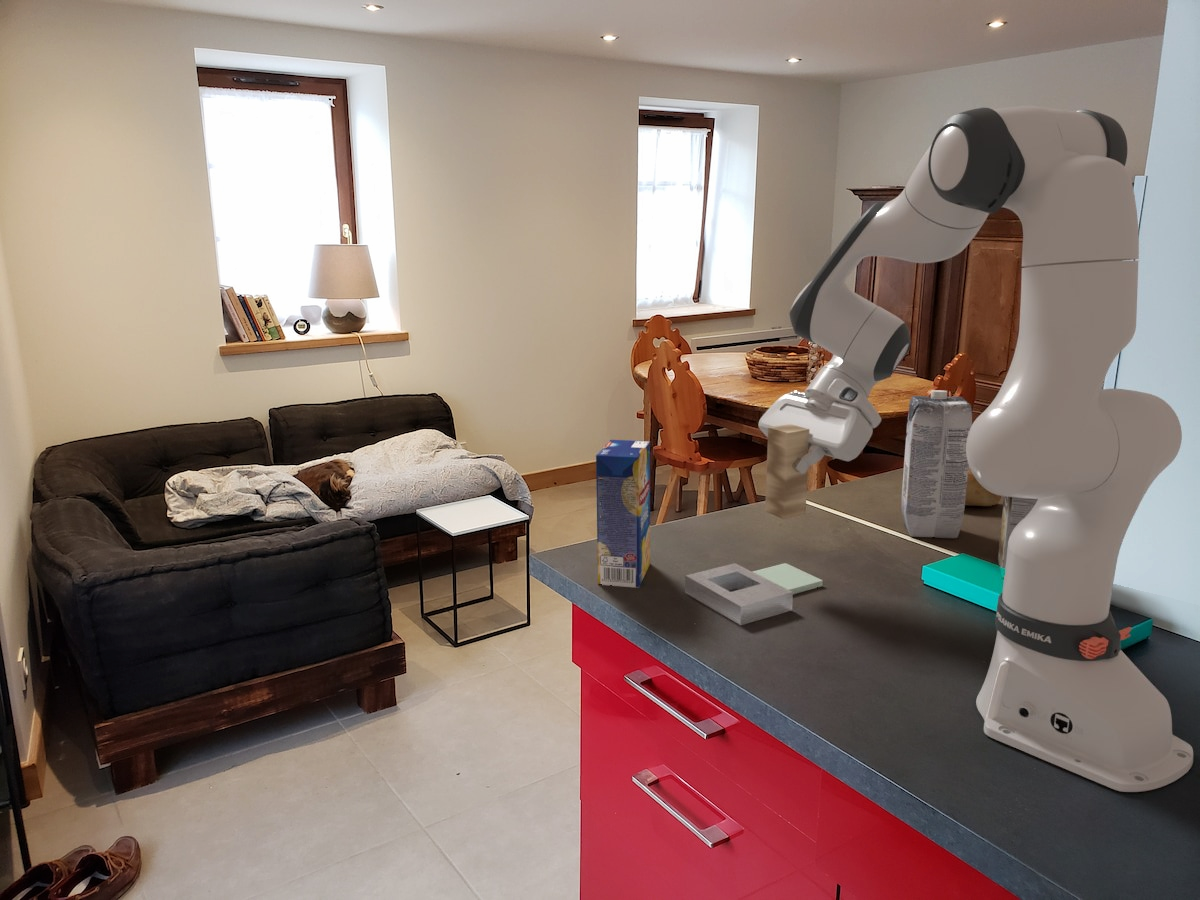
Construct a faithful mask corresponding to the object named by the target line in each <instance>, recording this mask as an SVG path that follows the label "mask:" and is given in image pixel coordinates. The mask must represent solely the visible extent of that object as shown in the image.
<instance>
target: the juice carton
mask: <svg viewBox="0 0 1200 900" xmlns="http://www.w3.org/2000/svg"><path fill="white" fill-rule="evenodd" d="M973 409H974V408H973V405H972V404H971V403H970V402H968V401H967V400H966V399H964V398H963V397H962V396H958V395H957V396H948V390H940V389H939V390H936V389H933V390H930V396H922V395H912V396H911V397H910V400H909V405H908V414H907V420H906V434H905V446H904V448H905V449H904V461H903V472H902V473H903V475H902V487H901V500H900V502H901V503H900V504H901V508H900V509H901V510H900V511H901V516H902V521H903V524H904V527H905V528H907V529H906V530H907V532H908V535H909V537H912V538H932V537H935V539H937V538H938V539H958V537H959V534H960V531H961V528H962V525H963V521H964V517H965V516H964V515H965V507H966V505H965V498H966V488H967V477H968V468H969V464H968V460H967V455H966V443H967V437H968V433H969V430H970V428H971V426H972V424H973Z"/></svg>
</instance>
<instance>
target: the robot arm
mask: <svg viewBox="0 0 1200 900" xmlns="http://www.w3.org/2000/svg"><path fill="white" fill-rule="evenodd" d="M933 138H934V139H933V140H932V142H931V144H930V145H929V147H928V148H927V150H926V151H925V153H924V154H923V156H921V158H920V160H919V162H917V165H916V167H915V168H914V170H913V171H912V173H911V175H910V177H909V179H908V181H907V183H906V184H905V187H904V188H903V190H902V191H901V192H900V193H899V194H898V196H896V197H895V198H893V199H891V200H889V201H877V202H876V203H874V204H873V205H871V206H870V207H869V208H868V209H867V210H865V212H864V213H863V214H862V215H861V216H860V217H859V218H858V220H856V222H855V223H854V224H853V226H852V227H851V228H850V229H849V231H848V232H847V233H846V234H845V236H844V237H843V238H842V240H841V241H840V243H839V244H838V245H837V246H836V248H835V249H834V250H833V252H832V253H831V254H830V256H829V257H828V259H827V260H826V261H825V263H824V264H823V266H822V267H821V268H820V270H819V271H818V273H817V274H816V275H815V277H814V278H813V279H812V280H811V281H809V282H808V283H807V284H806V285H805V286H804V287H803V289H802V290H800V292H799V293H798V295H797V296H796V297H795V299H794V301H793V303H792V305H791V307H790V311H789V313H788V314H789V319H790V323H791V327H792V329H793V332H794V333H795V335H796V336H798V337H800V338H802V339H804V340H806V341H808V342H810V343H813V344H816V345H817V346H818V347H821V348H823V349H824V350H826V351H827V352H829V353H831V354H832V357H831V358H830V360H829V362H827V363H826V364H825V365H824V366H822V367H821V369H820V370H819V371H818V372H817V374H816V375H815V377H814V378H813V379H812V380H811V382H810V383H809V385H808V386H807V387H806V389H805V390H804V392H801V391H800V390H792V391H791V392H788V393H785V394H783V395H781V396H780V397H779V398H777V400H775V401H774V403H772V405H770V406H769V408H767V410H766V411H765V412H764V413H763V414H762V416H761V417H760V419H759V421H758V423H757V424H758V426H757V427H758V429H759V430H760V431H761V432H762V433H763V435H764V436H766V438H768V427H774V426H781V425H787V424H792V425H795V426H799V427H803V428H806V429H810V430H809V435H808V436H807V438H806V441H807V442H808V443H809V451H808V454H806V455H805V456H804V457H802V458H797V459H796V460H795V462H794V463H793V465H792V468H793V469H794V470H795V471H796V472H799V473H801V474H804V473H805V472H806V470H807V469H808V468H809V467H811V466H813V465H815V464H816V463H818V462H820V461H821V460H823V458H824V456H827V457H831V458H835V459H838V460H840V461H845V462H851V461H852V460H855V459H856V458H857V457H858V456H859V455H860V454H861V452H862V451H864V448H865V447H866V445H867V444H868V442H869V441H870V439H871V437H872V436H873V430H874V429H875V428H877V427H878V426H879V425H880V424H881V422H882V417H881V415H880V414H879V413H878V411H877V409H875V406H874V405H873V404H872V403H871V401H870V400H869V397H870V394H871V391H872V389H873V388H874V387H875V386H876V385H877V384H878V383H879V382H881V381H885V380H886V379H890V378H892V375H893V373H894V372H895V371H896V369H897V367H898V366H899V365H900V364H901V362H902V361H903V360H904V358H905V357H906V356H907V354H908V353H909V352H910V349H911V348H912V347H911V346H912V341H911V340H912V339H911V335H910V334H911V333H910V330H909V327H908V324H907V322H905V321H903V319H901V318H900V317H899V316H897V315H895V314H893V313H891V312H890V311H888V310H886V309H885V308H883V307H882V306H878V305H877V304H875V303H873V302H872V301H871V300H869V299H866V298H865V297H863V296H862V295H859V294H858V293H856V292H854V291H853V290H852V289H850V288H849V287H848V285H847V283H846V280H847V279H848V278H849V276H850V275H851V274H852V273H853V272H854V270H855V269H856V268H857V266H858V265H859V264H860V262H861V261H862V260H863V259H865V258H867V257H883V258H884V257H885V258H891V259H897V260H901V261H905V262H909V263H914V264H933V263H938V262H942V261H946V260H948V259H951V258H953V257H955V256H958V255H959V254H960V253H962V252H963V251H964V249H966V248H967V246H968V245H969V244H970V243H971V242H972V240H973V239H974V238H975V237H976V236H977V233H978V232H979V231H980V230H981V228H982V226H983V225H984V223H985V222H986V220H987V218H988V216H989V215H994V214H996V213H997V212H998V211H999V210H1000V209H1002V208H1005V209H1006V210H1007V209H1008V210H1010V211H1012V212H1013V213H1014V214H1015V215H1016V216H1018V218H1019V220H1020V222H1021V225H1022V226H1021V227H1022V233H1023V234H1022V251H1021V252H1022V253H1021V282H1020V283H1021V284H1020V287H1021V288H1020V311H1019V325H1018V335H1017V339H1016V340H1017V341H1016V345H1015V350H1014V354H1013V357H1012V360H1011V363H1010V366H1009V369H1008V371H1007V374H1006V376H1005V379H1004V380H1003V383H1002V385H1001V387H1000V389H999V391H998V393H997V394H996V396H995V397H994V399H993V400H992V401H991V403H990V404H989V406H988V407H986V409H985V410H983V412H982V413H981V414H979V415H978V416H977V417H976V419H974V421H973V422H972V426H971V428H970V430H969V433H968V437H967V443H966V455H967V460H968V464H969V466H968V468H970V469H971V472H972V473H973V475H974V477H975V478H976V480H977V481H978V482H979V483H980V484H981V486H983V487H984V488H985V489H986V490H988V491H989V492H991V493H993V494H996V495H1000V496H1001V497H1004V496H1007V497H1015V498H1028V499H1038V500H1037V502H1036V504H1035V505H1034V507H1033V508H1032V510H1031V511H1030V512H1029V513H1028V515H1027V516H1026V517H1025V518H1024V519H1022V520H1021V521H1020V522H1019V523H1018V524H1017V525H1016V527H1015V528H1014V529H1013V531H1012V533H1011V535H1010V537H1009V540H1008V547H1007V556H1006V565H1005V575H1004V578H1003V586H1002V592H1001V593H1000V594H999V595H998V598H997V605H996V606H997V607H996V612H995V620H994V625H995V631H996V632H995V633H996V636H995V637H996V638H995V641H994V642H995V644H994V648H993V652H992V657H991V659H990V660H991V661H990V663H989V667H988V670H987V673H986V677H985V679H984V682H983V684H982V686H981V688H980V691H978V695H977V697H976V699H975V700H976V701H975V703H976V704H975V706H976V708H977V710H978V712H979V714H980V715H981V717H982V719H983V721H984V722H983V733H984V734H985V735H986V736H987V737H989V738H991V739H994V740H995V741H998V742H1000V743H1003V744H1005V745H1008V746H1009V747H1013V748H1014V749H1015V748H1016V749H1018V750H1020V751H1022V752H1024V753H1026V754H1029V755H1031V756H1034V757H1036V758H1038V759H1041V760H1042V761H1045V762H1048V763H1050V764H1052V765H1054V766H1057V767H1060V768H1062V769H1065V770H1067V771H1069V772H1071V773H1074V774H1076V775H1079V776H1081V777H1083V778H1086V779H1088V780H1091V781H1093V782H1095V783H1097V784H1100V785H1102V786H1105V787H1107V788H1110V789H1112V790H1114V791H1118V792H1122V793H1124V792H1125V793H1139V792H1147V791H1152V790H1156V789H1159V788H1162V787H1165V786H1167V785H1169V784H1172V783H1174V782H1176V781H1177V780H1178V779H1180V778H1182V777H1183V776H1184V775H1185V774H1187V773H1189V770H1190V769H1191V768H1192V767H1193V764H1194V750H1193V746H1191V744H1189V743H1188V742H1186V741H1185V740H1183V739H1182V738H1179V737H1178V736H1176V735H1174V734H1173V721H1172V719H1173V718H1172V717H1173V716H1172V713H1171V712H1172V711H1171V707H1170V704H1169V701H1168V700H1167V698H1166V697H1165V695H1163V693H1161V692H1160V690H1159V689H1157V687H1156V686H1155V685H1153V683H1152V682H1151V681H1150V680H1149V679H1148V678H1147V676H1145V675H1144V673H1143V672H1142V671H1141V670H1140V669H1139V668H1138V667H1137V665H1135V664H1134V663H1133V661H1131V659H1130V658H1129V657H1128V656H1127V655H1126V654H1125V653H1124V652H1123V650H1121V649H1122V644H1121V641H1123V640H1126V639H1127V638H1130V637H1131V634H1130V632H1131V631H1132V627H1131V626H1128V627H1125V628H1123V629H1120V630H1118V628H1117V625H1116V624H1115V620H1114V617H1113V615H1112V612H1111V611H1110V607H1111V600H1112V595H1113V594H1112V593H1113V587H1114V581H1115V574H1116V569H1117V568H1116V567H1117V563H1118V558H1119V555H1120V550H1121V546H1122V544H1123V541H1124V539H1125V536H1126V533H1127V531H1128V530H1129V527H1130V525H1131V522H1132V520H1133V519H1134V517H1135V515H1136V513H1137V511H1138V509H1139V506H1140V504H1141V502H1142V501H1143V498H1144V496H1145V495H1146V493H1147V492H1148V490H1149V488H1150V487H1151V485H1152V484H1153V483H1154V481H1155V480H1156V479H1157V478H1158V476H1159V475H1160V474H1161V473H1162V472H1163V471H1164V470H1165V469H1166V468H1167V467H1169V465H1171V464H1172V462H1174V460H1175V459H1176V458H1177V456H1178V454H1179V451H1180V448H1181V446H1182V438H1183V437H1182V436H1183V432H1182V426H1181V423H1180V419H1179V416H1177V413H1176V411H1175V410H1174V409H1173V408H1172V406H1171V405H1170V404H1169V403H1167V401H1166V400H1164V399H1162V398H1161V397H1159V396H1157V395H1156V394H1152V393H1147V392H1142V391H1137V390H1132V389H1125V388H1105V389H1102V387H1103V386H1104V382H1105V379H1106V376H1107V375H1108V371H1109V369H1110V367H1111V365H1112V363H1113V362H1114V361H1115V359H1116V358H1117V356H1118V355H1119V354H1120V353H1121V352H1122V351H1123V349H1125V348H1126V347H1127V346H1128V345H1129V343H1130V342H1131V341H1132V339H1133V338H1134V335H1135V332H1136V330H1137V312H1138V311H1137V309H1138V288H1139V287H1138V285H1139V284H1138V283H1139V280H1138V279H1139V260H1138V259H1140V258H1139V257H1140V256H1139V254H1140V238H1139V222H1138V220H1139V219H1138V211H1137V210H1138V209H1137V203H1136V202H1137V201H1136V196H1135V191H1134V190H1135V189H1134V184H1133V181H1132V177H1131V173H1130V172H1129V170H1128V168H1127V167H1126V163H1127V159H1128V141H1127V135H1126V133H1125V131H1124V129H1123V127H1122V125H1121V124H1120V123H1119V122H1118V121H1117V120H1116V119H1115V118H1113V117H1111V116H1109V115H1107V114H1104V113H1102V112H1098V111H1093V110H1091V109H1090V110H1089V109H1078V110H1070V109H1065V108H1052V107H1043V106H1039V105H1019V106H1018V105H1017V106H1007V107H999V108H990V107H978V108H972V109H969V110H966V111H965V110H964V111H962V112H959V113H956V114H954V115H952V116H951V117H949V118H948V119H946V121H944V122H943V124H942V125H940V127H939V128H938V131H937V132H936V134H935V136H934V137H933ZM808 470H809V469H808Z"/></svg>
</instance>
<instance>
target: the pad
mask: <svg viewBox="0 0 1200 900" xmlns="http://www.w3.org/2000/svg"><path fill="white" fill-rule="evenodd" d="M752 572H754V573H756V574H758V575H760V576H762V577H764V578H766V579H768V580H770V581H772V582H774V583H776V584H778V585H780V586H782V587H784V588H786V589H788V590H790V591H792V592H793V595H797V594H800V593H803V592H806V591H810V590H814V589H817V587H818V588H821V587H823V586H824V585H823V583H824V582H823V581H824V580H823V579H821V578H819V577H816V576H815V575H813V574H810V573H809V572H808V573H807V572H805V571H804V570H801V569H799V568H797V567H795V566H794V565H793V566H792V565H790V564H789V563H786V562H784V563H781V564H776V565H773V566H769V567H765V568H762V569H761V568H760V569H758V570H753V571H752Z"/></svg>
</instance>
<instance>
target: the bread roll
mask: <svg viewBox="0 0 1200 900" xmlns="http://www.w3.org/2000/svg"><path fill="white" fill-rule="evenodd" d="M1001 499H1002V496H1000V495H996V494H993V493H991V492H989V491H988V490H986V489H985V488H984V487H983V486H981V484H980V483H979V482H978V481H977V480H976V478H975V477H974V475H973V473H972V472H971V469H970V467H968V477H967V488H966V498H965V506H975V507H976V506H978V507H992V505H993V506H994V505H995V506H996V505H997V504H998V503H999V502H1000V501H1001Z"/></svg>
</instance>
